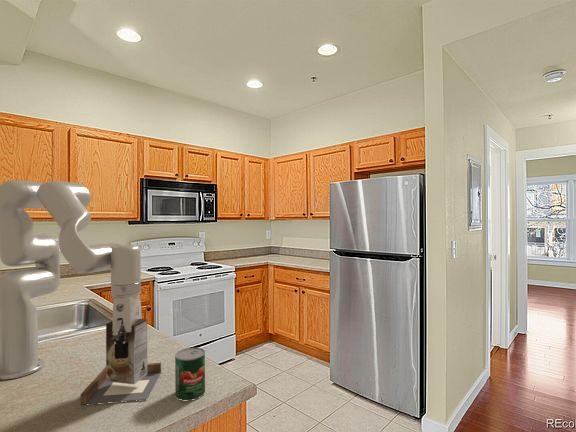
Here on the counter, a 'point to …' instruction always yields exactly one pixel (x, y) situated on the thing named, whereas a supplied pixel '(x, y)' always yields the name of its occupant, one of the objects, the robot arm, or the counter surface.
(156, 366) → the corner walls
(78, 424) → the counter surface
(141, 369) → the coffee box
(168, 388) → the counter surface
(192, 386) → the canned tomato
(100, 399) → the corner mat
